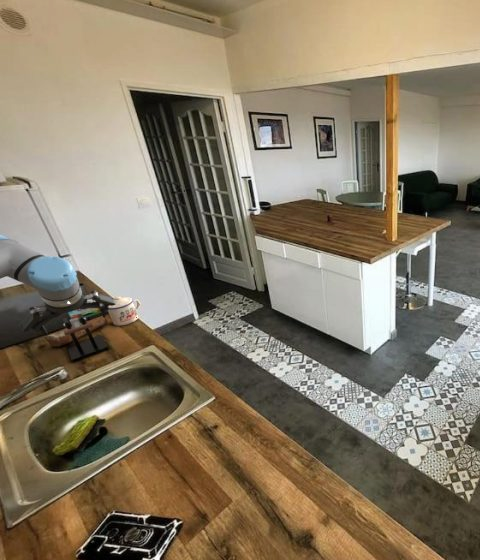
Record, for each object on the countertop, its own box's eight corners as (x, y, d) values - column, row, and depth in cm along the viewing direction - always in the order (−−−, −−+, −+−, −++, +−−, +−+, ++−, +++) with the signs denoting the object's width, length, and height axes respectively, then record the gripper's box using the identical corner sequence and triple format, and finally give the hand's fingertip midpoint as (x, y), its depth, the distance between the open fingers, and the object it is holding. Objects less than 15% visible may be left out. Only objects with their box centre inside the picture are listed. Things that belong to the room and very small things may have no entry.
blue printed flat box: (107, 309, 143) (102, 298, 140) (107, 310, 142) (102, 299, 139) (71, 320, 134) (65, 307, 132) (72, 321, 133) (66, 309, 131)
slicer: (109, 349, 117) (94, 318, 111) (73, 362, 110) (56, 330, 104) (101, 337, 124) (87, 307, 118) (67, 348, 117) (51, 317, 111)
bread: (48, 347, 117) (41, 335, 115) (102, 321, 134) (98, 310, 131) (59, 350, 115) (52, 338, 113) (113, 324, 132) (108, 313, 130)
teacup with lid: (123, 327, 130) (112, 303, 125) (107, 324, 132) (96, 300, 127) (150, 313, 140) (142, 291, 135) (135, 310, 142) (127, 288, 137)
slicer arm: (94, 328, 107) (91, 321, 106) (66, 337, 102) (62, 330, 101) (88, 320, 115) (86, 314, 115) (63, 328, 111) (59, 322, 110)
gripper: (-3, 326, 74) (22, 351, 89) (126, 291, 91) (128, 316, 106) (-16, 300, 74) (11, 329, 89) (115, 269, 92) (119, 298, 107)
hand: (75, 322), depth 98 cm, fingers open, 13 cm apart
